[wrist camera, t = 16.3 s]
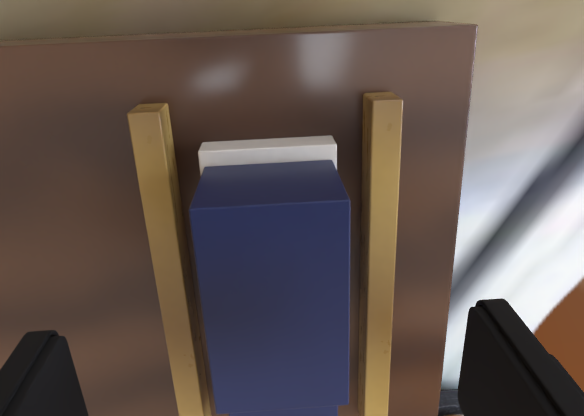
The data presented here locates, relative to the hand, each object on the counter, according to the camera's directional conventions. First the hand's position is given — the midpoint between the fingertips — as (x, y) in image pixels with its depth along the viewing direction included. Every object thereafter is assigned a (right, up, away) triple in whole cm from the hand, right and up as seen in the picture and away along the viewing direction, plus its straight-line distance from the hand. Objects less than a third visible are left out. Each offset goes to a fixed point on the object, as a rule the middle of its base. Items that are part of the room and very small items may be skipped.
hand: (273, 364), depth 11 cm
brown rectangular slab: (-5, +2, +11) cm, 13 cm away
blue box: (0, +1, +8) cm, 8 cm away
